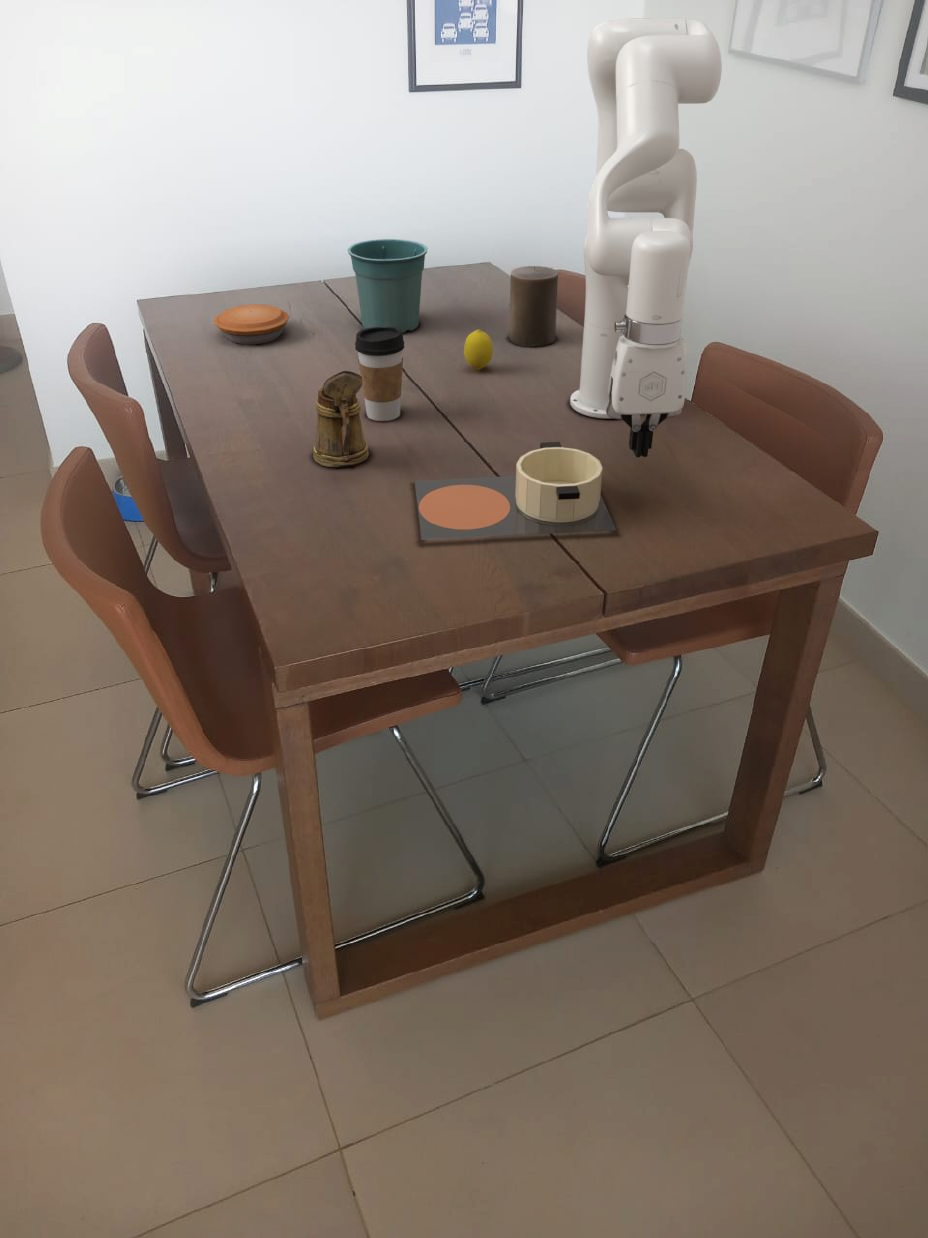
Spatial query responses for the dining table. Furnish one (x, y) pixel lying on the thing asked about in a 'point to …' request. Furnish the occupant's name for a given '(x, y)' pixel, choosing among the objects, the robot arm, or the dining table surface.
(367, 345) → the coffee cup
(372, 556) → the dining table surface
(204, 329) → the dining table surface
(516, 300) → the pillar candle
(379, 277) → the flower pot
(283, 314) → the pie
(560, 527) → the cooktop
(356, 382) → the wooden mug
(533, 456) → the pot
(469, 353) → the lemon
